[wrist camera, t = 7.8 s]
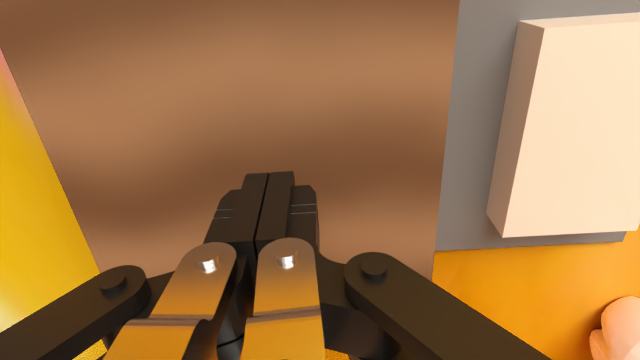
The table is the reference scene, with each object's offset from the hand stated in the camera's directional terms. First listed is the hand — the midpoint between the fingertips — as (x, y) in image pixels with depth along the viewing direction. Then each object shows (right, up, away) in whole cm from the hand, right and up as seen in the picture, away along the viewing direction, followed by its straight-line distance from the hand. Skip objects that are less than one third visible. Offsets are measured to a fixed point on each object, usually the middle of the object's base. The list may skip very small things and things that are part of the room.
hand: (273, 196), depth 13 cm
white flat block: (+13, +2, +3) cm, 13 cm away
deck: (-1, +3, +5) cm, 6 cm away
